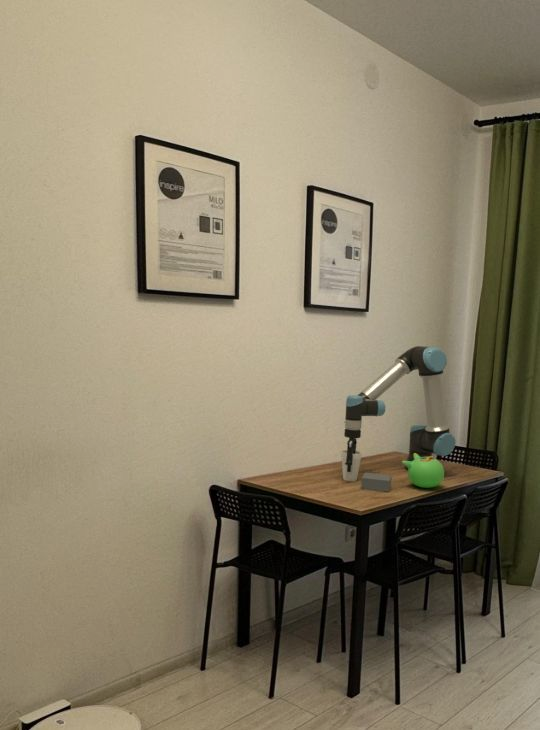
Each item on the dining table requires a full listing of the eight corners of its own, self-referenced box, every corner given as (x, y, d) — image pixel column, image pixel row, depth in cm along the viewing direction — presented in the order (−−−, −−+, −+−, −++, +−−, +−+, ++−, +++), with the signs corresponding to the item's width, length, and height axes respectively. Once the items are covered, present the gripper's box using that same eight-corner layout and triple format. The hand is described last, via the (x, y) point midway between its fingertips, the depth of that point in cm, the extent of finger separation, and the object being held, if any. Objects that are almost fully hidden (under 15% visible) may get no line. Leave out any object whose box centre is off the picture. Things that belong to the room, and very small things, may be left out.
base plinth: (364, 483, 286) (364, 472, 286) (390, 486, 283) (391, 475, 283) (361, 489, 275) (361, 477, 274) (388, 492, 272) (389, 480, 271)
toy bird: (436, 494, 273) (438, 460, 272) (399, 487, 281) (401, 455, 281) (447, 486, 288) (449, 455, 288) (412, 480, 297) (414, 450, 296)
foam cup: (356, 477, 297) (358, 450, 296) (362, 482, 288) (364, 454, 287) (337, 477, 296) (339, 450, 295) (342, 481, 286) (344, 453, 286)
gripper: (347, 425, 302) (345, 470, 303) (341, 431, 281) (338, 480, 282) (363, 426, 300) (360, 472, 301) (358, 432, 279) (355, 482, 280)
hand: (350, 476), depth 292 cm, fingers closed on foam cup, 9 cm apart
